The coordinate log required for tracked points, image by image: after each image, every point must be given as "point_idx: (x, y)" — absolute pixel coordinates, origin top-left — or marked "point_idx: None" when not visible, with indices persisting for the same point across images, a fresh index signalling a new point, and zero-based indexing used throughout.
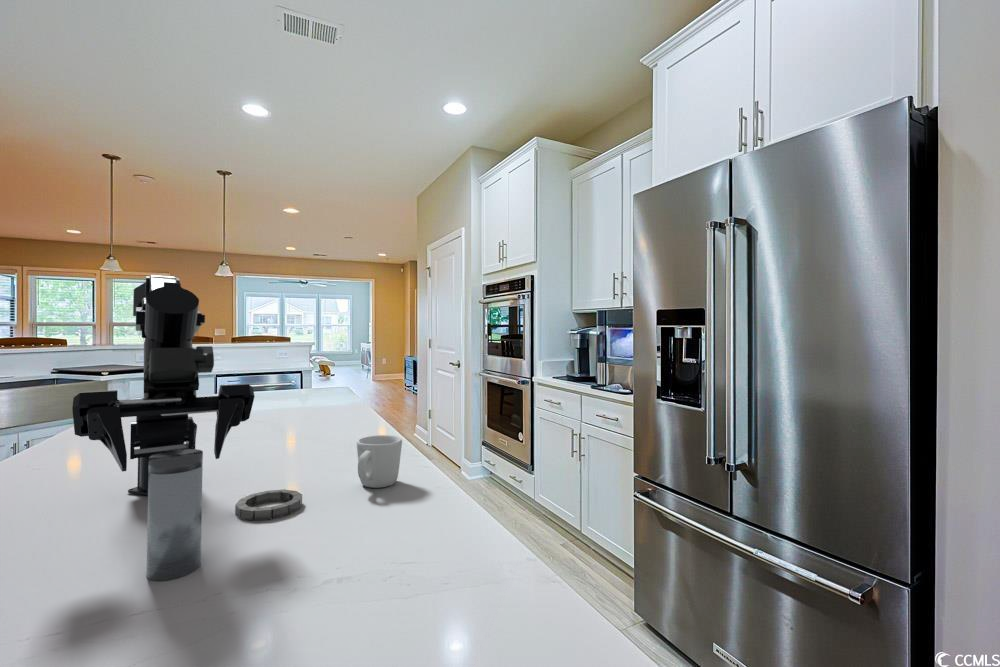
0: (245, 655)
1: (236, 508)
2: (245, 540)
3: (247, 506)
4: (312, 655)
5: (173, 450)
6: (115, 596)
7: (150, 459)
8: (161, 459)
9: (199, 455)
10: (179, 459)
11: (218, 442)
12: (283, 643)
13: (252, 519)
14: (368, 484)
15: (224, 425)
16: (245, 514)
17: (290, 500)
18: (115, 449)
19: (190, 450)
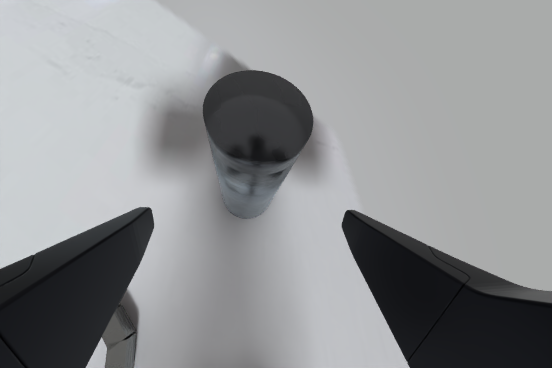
0: (223, 52)
1: (127, 365)
2: (163, 227)
3: (109, 348)
4: (193, 30)
5: (264, 160)
6: (291, 172)
7: (308, 104)
8: (289, 89)
9: (216, 85)
10: (258, 71)
11: (120, 222)
12: (202, 47)
13: (122, 307)
14: None
15: (15, 271)
16: (125, 323)
17: None
18: (398, 232)
19: (227, 134)
